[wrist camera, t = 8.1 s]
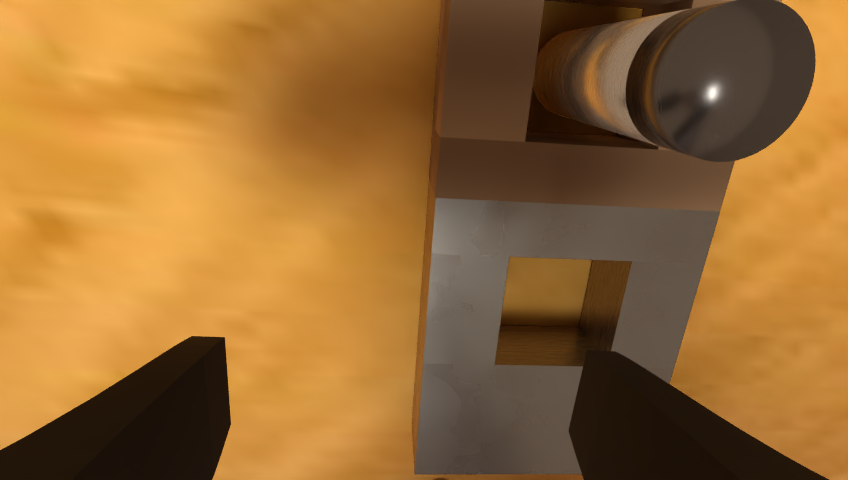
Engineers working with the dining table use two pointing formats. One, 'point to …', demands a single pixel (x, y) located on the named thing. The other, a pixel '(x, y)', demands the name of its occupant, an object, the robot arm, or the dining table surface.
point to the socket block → (539, 345)
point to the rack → (542, 151)
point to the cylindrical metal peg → (685, 77)
